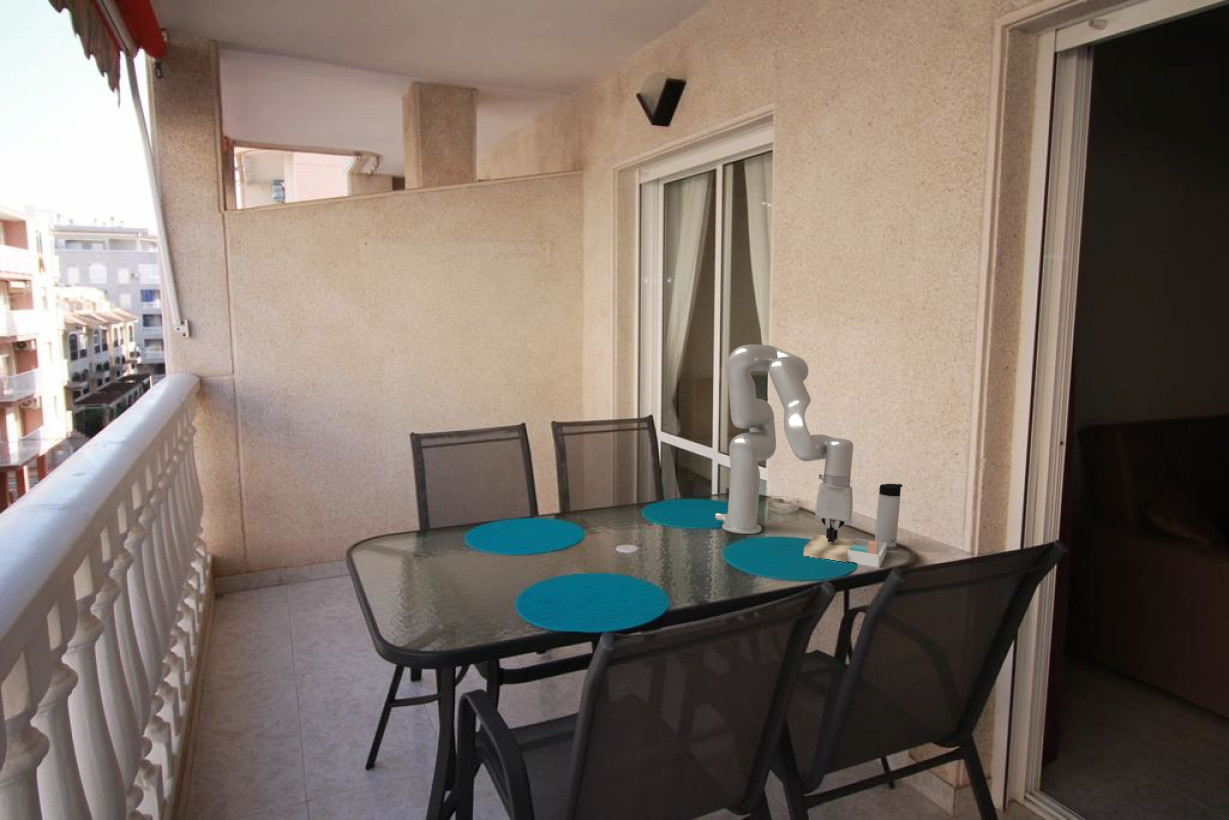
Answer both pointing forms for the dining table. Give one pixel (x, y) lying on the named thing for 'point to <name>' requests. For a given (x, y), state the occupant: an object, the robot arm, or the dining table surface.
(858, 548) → the tile teal
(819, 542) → the board
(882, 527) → the travel mug
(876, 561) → the tray
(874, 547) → the tile terracotta
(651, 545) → the dining table surface
